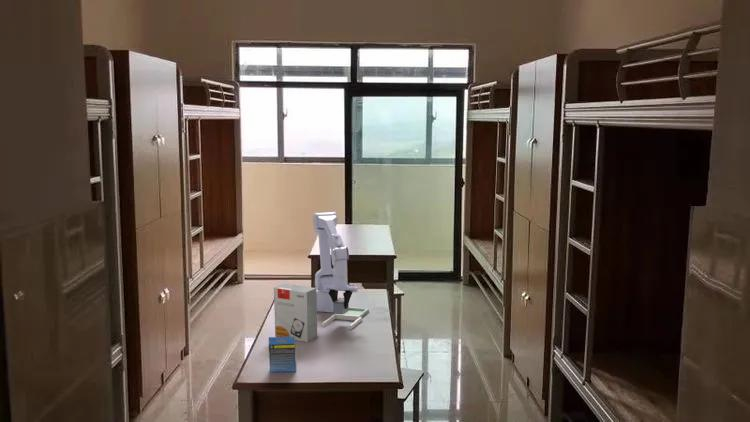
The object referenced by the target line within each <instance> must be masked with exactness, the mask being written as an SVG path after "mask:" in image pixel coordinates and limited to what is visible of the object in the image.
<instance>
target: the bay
mask: <svg viewBox="0 0 750 422" xmlns="http://www.w3.org/2000/svg"><path fill="white" fill-rule="evenodd" d="M334 320H342V321H353V322H352V323H351V324H349V327H348V328H349V330H353V329H354V328H355V327H357V325H359V323H361V322H362V321H363V317H360V316H355V315H342V314H333V315H331V316H330V317H329V318H327V319H326V320H324V321H323V322H322V323H321V325H322V326H321V327H324V328H325V327H327V326H328V325H329V324H330V323H332V322H333V321H334Z"/></svg>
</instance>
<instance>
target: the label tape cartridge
mask: <svg viewBox="0 0 750 422" xmlns="http://www.w3.org/2000/svg"><path fill="white" fill-rule="evenodd" d="M268 355H269V356H268V357H269V372H270V373H280V372H283V373H285V372H286V373H287V372H294V373H295V372H297V345H296V343H295V340H294V337H277V336H273V337H272V336H270V337H268Z"/></svg>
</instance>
